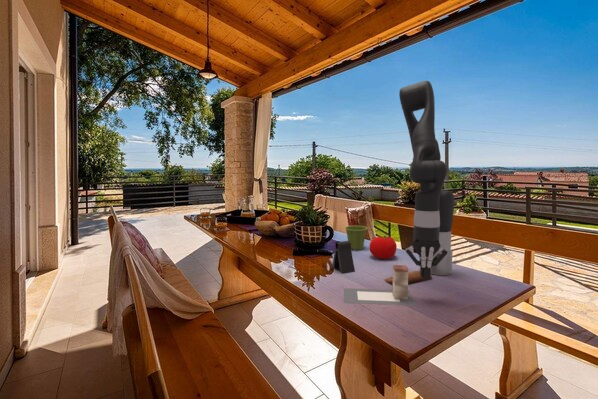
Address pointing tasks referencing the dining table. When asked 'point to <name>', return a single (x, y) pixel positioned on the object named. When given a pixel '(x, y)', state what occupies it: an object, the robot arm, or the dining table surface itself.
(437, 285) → the dining table surface
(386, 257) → the tomato
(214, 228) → the dining table surface
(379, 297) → the rubber mat
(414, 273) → the sunglasses case
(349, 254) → the phone stand
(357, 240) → the plant pot
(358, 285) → the dining table surface
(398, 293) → the ash block
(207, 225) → the dining table surface
